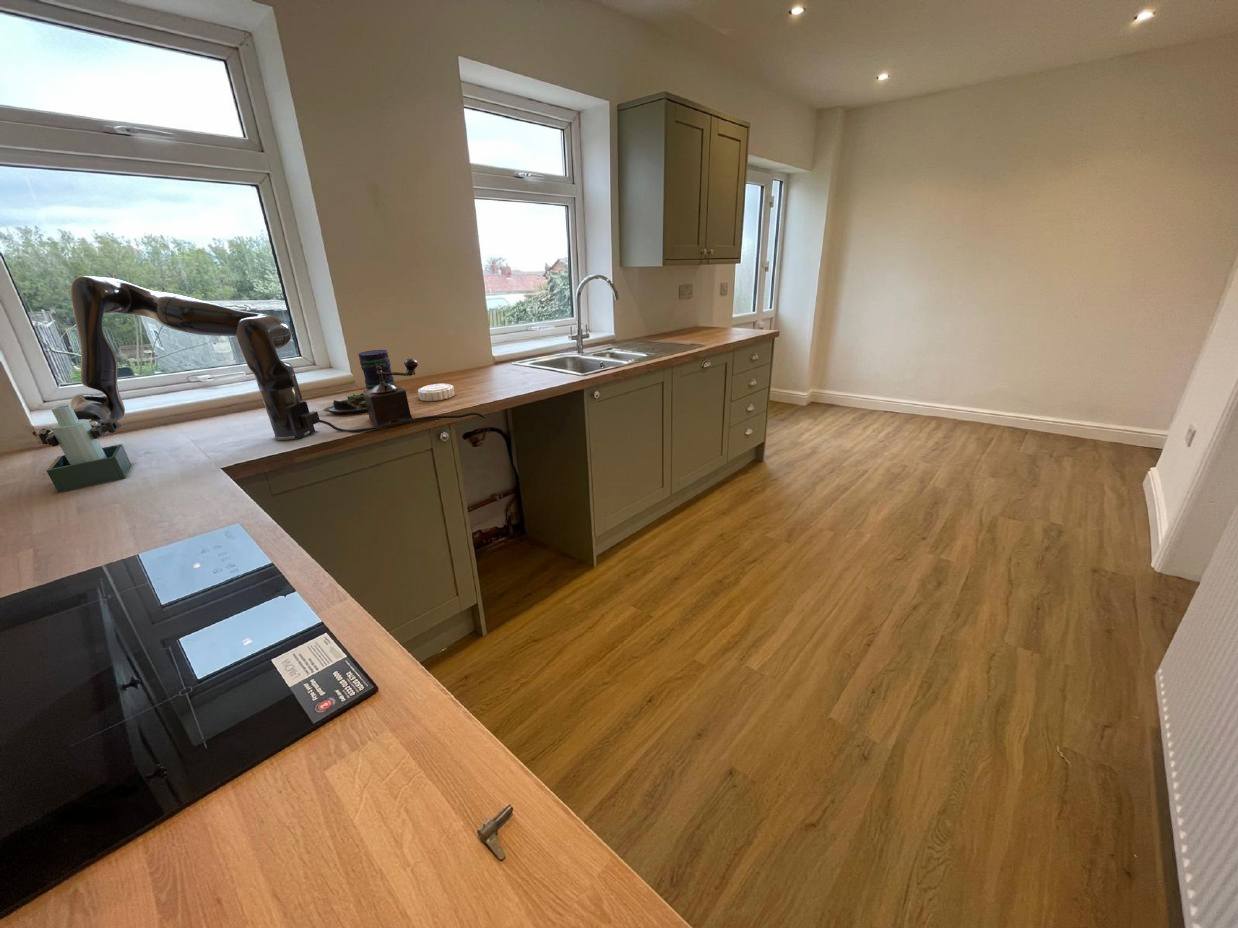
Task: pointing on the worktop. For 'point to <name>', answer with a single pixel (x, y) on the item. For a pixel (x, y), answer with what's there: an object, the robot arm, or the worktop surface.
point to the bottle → (75, 436)
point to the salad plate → (349, 406)
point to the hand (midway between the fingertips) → (73, 438)
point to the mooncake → (436, 392)
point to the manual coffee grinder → (389, 398)
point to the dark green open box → (89, 470)
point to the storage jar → (375, 367)
